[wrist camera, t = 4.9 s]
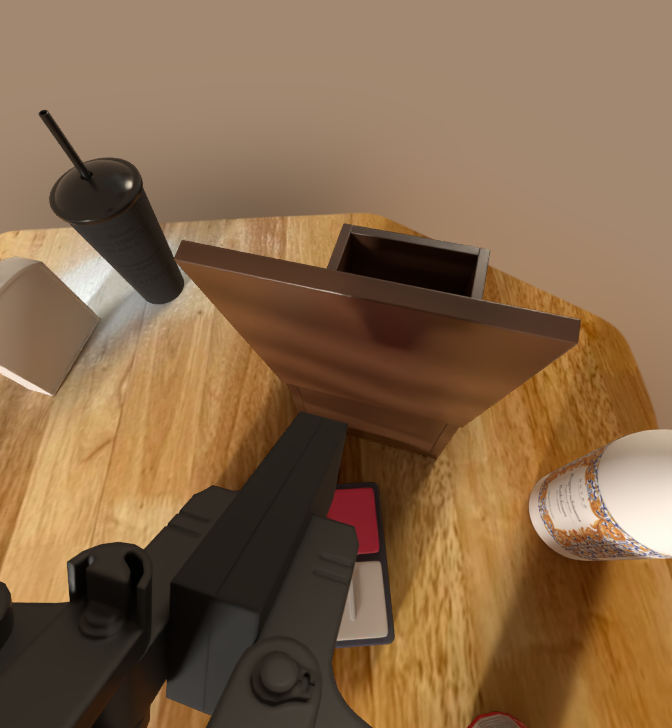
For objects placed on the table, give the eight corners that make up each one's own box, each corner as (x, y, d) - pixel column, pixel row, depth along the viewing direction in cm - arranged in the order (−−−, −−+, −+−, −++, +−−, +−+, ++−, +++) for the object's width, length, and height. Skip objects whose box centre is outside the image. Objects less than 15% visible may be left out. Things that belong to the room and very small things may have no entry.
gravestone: (30, 390, 42) (-174, 278, 26) (78, 313, 46) (-73, 175, 30) (54, 396, 41) (-140, 285, 25) (100, 318, 45) (-42, 181, 29)
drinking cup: (180, 320, 45) (61, 154, 27) (117, 308, 46) (-36, 141, 28) (206, 266, 48) (116, 85, 30) (147, 256, 49) (27, 76, 31)
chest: (346, 290, 45) (343, 222, 37) (463, 314, 43) (490, 249, 35) (301, 422, 39) (284, 379, 30) (437, 459, 37) (462, 424, 28)
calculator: (397, 645, 28) (171, 663, 27) (389, 636, 32) (191, 651, 31) (379, 479, 33) (187, 491, 32) (374, 488, 36) (203, 499, 36)
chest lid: (181, 239, 14) (172, 259, 14) (581, 318, 12) (578, 344, 12) (285, 371, 30) (282, 382, 30) (464, 416, 28) (462, 427, 27)
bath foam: (522, 469, 36) (683, 370, 18) (605, 476, 35) (857, 380, 18) (531, 556, 33) (736, 541, 15) (622, 565, 32) (948, 560, 15)
